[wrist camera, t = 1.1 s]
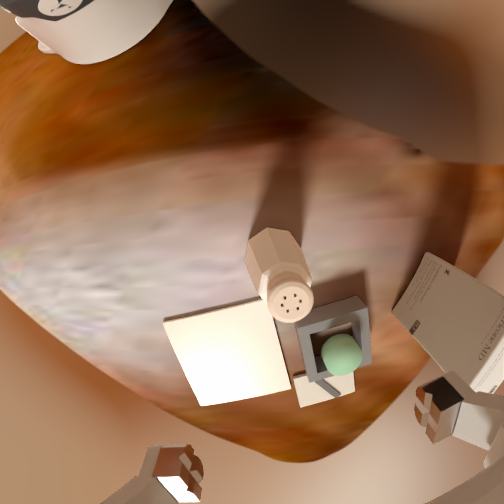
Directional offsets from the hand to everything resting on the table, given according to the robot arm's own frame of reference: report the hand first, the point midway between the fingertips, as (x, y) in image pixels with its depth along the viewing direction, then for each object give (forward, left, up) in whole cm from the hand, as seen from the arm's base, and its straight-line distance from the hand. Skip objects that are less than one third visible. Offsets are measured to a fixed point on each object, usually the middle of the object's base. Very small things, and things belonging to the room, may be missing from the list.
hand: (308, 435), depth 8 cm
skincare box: (+8, +17, -20) cm, 28 cm away
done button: (+9, +5, -17) cm, 20 cm away
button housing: (+9, +5, -20) cm, 23 cm away
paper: (+9, -6, -20) cm, 23 cm away
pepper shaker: (-1, +1, -20) cm, 20 cm away
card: (+16, +3, -20) cm, 26 cm away
